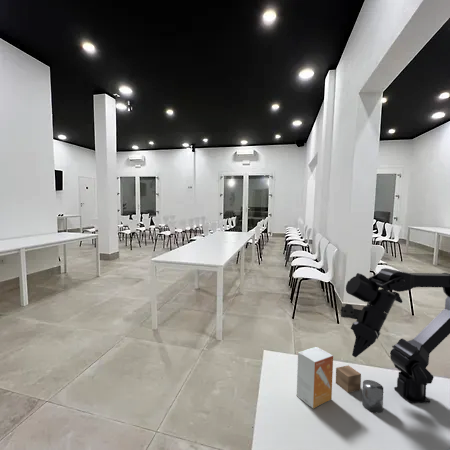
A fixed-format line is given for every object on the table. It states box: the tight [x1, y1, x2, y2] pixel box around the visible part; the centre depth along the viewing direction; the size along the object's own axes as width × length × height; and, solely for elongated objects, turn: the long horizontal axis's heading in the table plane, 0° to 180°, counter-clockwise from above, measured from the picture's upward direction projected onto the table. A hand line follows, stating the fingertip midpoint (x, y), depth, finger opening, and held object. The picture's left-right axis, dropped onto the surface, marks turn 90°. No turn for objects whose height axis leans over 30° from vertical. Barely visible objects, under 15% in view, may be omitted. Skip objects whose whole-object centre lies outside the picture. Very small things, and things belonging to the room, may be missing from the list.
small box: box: [296, 346, 334, 409], centre depth 75 cm, size 8×6×13 cm
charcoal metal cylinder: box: [361, 379, 384, 414], centre depth 72 cm, size 5×5×6 cm
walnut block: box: [335, 364, 362, 394], centre depth 81 cm, size 5×5×5 cm
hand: (353, 356), depth 76 cm, fingers closed
